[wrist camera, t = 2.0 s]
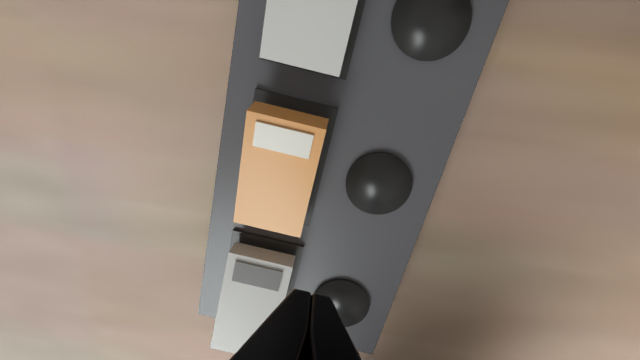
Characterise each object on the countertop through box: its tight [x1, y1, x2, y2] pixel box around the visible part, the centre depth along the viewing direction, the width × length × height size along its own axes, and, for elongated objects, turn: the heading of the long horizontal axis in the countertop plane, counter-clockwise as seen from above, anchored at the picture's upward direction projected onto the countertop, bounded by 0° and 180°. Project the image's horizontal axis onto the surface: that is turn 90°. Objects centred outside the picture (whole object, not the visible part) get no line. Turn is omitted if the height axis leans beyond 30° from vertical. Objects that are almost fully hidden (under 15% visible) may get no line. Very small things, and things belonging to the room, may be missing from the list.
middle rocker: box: [233, 101, 329, 238], centre depth 15 cm, size 5×3×1 cm, turn 167°
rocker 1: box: [210, 242, 295, 354], centre depth 17 cm, size 5×3×1 cm, turn 167°
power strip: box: [198, 0, 509, 354], centre depth 18 cm, size 20×10×3 cm, turn 167°
